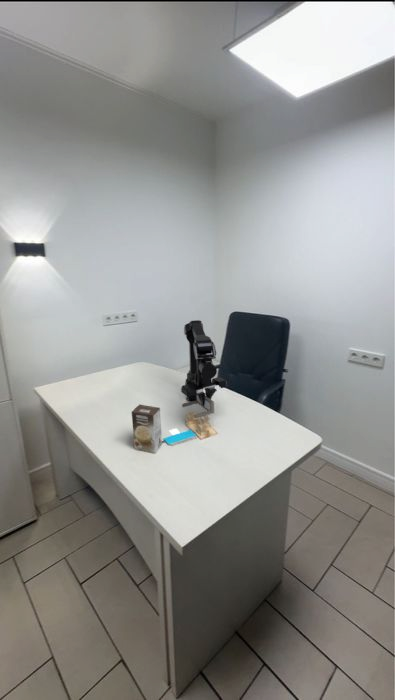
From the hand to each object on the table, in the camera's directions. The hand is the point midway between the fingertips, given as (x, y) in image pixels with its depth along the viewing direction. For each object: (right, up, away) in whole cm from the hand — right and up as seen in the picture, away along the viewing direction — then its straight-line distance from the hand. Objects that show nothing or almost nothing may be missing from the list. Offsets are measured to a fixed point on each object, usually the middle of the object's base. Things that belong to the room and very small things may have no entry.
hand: (204, 405), depth 128 cm
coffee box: (-22, -14, -10) cm, 28 cm away
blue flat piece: (-11, -13, -3) cm, 17 cm away
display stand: (-2, -10, +2) cm, 11 cm away
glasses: (-3, -2, -1) cm, 4 cm away
